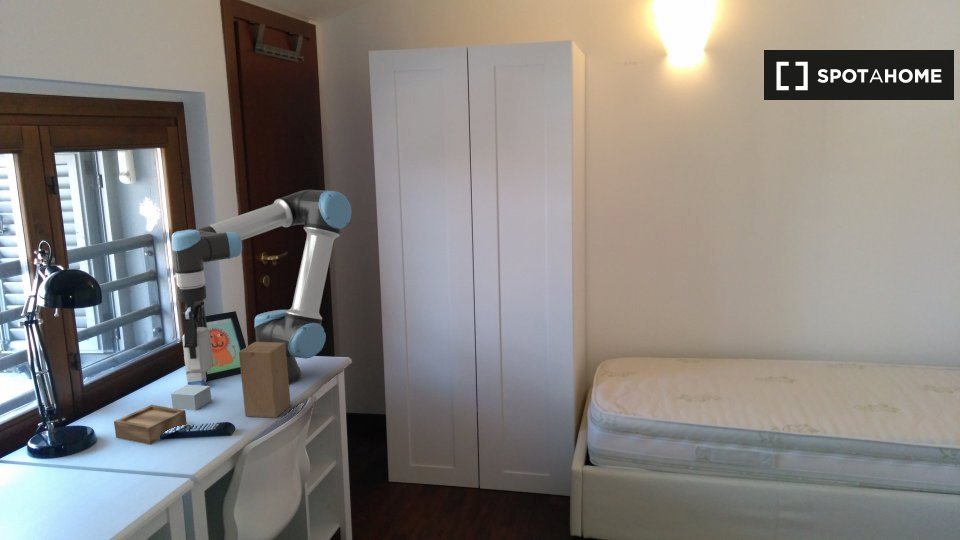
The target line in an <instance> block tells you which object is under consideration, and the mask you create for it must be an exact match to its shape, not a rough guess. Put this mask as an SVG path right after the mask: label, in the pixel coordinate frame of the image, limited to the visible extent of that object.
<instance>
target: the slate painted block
mask: <svg viewBox="0 0 960 540" xmlns="http://www.w3.org/2000/svg"><path fill="white" fill-rule="evenodd" d="M170 395H171V405H172V408H174V409H179V410H183V409H191V410H190V411H197V410H199V409H200V407H201V408H202V407H203V405H204V406H206V405H207V404H209V403H210V402H212V401H213V400H212V392H211V386H210V385H204V386H200V385H188V384H186V385H184V386H183V387H180V388H179V389H177V390H175V391H174V392H172V393H170ZM208 402H209V403H208ZM205 404H206V405H205ZM198 408H199V409H198Z"/></svg>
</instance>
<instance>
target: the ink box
mask: <svg viewBox="0 0 960 540" xmlns="http://www.w3.org/2000/svg"><path fill="white" fill-rule="evenodd" d="M183 358H184V357H183ZM184 361H185V358H184ZM185 374H186V381H187V385H200V386H206V381H207V373H206V372H203V373H190V372H189V371H187V370H186V369H185Z"/></svg>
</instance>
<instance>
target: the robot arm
mask: <svg viewBox="0 0 960 540" xmlns="http://www.w3.org/2000/svg"><path fill="white" fill-rule="evenodd" d="M351 219H352V206H351V203H350V202H349V200H348V198H347V197H346V195H344V194H343V193H342V192H339V191H334V190H323V189H321V190H319V189H318V190H316V189H304V190H300V191H297V192H294V193H291V194H289V195H286V196H283V197H280V198H277V199H275V200H274V202H273V203H272V204H269V205H267V206H263V207H260V208H257V209H254V210H252V211H248V212H246V213H242V214H240V215H236V216H233V217H230V218H227V219H225V220H221V221H218V222H216V223H212V224H209V225H208V226H203V227H201V228H198V229H197V228H196V229H194V228H190V229H186V230H177V231H175V232H174V233H172V235H171V251H172V256H173V257H172V258H173V266H174V272H175V273H174V275H173V279H175V281H176V282H175V283H176V284H175V285H176V286H177V289H176V293H177V300H178V302H179V303H180V302H181V303H184V304H185V307H184V311H182V313H181V315H182V321H183V323H182V325H183V335H184V340H185V346H184V348H188V354H189V363H190V370H194V369H201V364H200V355H199V346H197V327H205V328H207V331H208V325H207V317H206V312H205V302H204V300H206V299H207V287H206V286H205V284H206V278H205V268H204V263H209V262H210V263H211V262H215V261H222V260H231V259H232V258H237V257H239V256H240V255H241V254H242V252H243V240H246V239H250V238H252V237H255V236H258V235H261V234H263V233H267V232H269V231H271V230H274V229H277V228H280V227H283V228H288V227H291V226H297V225H298V226H299V225H303V230H304V231H305V232H306V233H305V234H306V240H305V244H304V249H303V252H302V253H303V254H302V258H301V263H300V266H299V267H300V268H299V271H298V275H297V276H298V277H297V281H296V285H295V286H296V287H295V291H294V296H293V301H292V305H291V307H290V309H277V310H272V311H267V312H265V311H264V312H263V313H260V314H259V313H258V314H257V315H256V316H255V317H254V325H253V326H254V334H255V342H279V343H285V346H286V357H287V369H288V381H289V385H290V384H293V383H295V382H297V381H299V380H300V379H301V378H302V372H301V370H302V369H301V368H300V367H299V364H298V361H297V358H299V359H312V358H313V357H315V356H316V355H317V354H319V353H320V352H321V351H322V349H323V348H324V345H325V342H326V340H327V339H326V338H327V335H326V334H327V333H326V332H325V328H324V326H322V322H323V317H322V316H321V314H320V308H321V304H322V298H323V294H324V293H323V292H324V288H325V284H326V280H327V274H328V270H329V269H328V268H329V265H330V261H331V260H330V259H331V256H332V251H333V250H332V249H333V245H334V241H335V239H337V238H339V237H340V236H341V232H342V231H341V230H342V229H343V228H345V227H346V226H347V225H348V224H349V223H350V221H351ZM208 332H209V331H208ZM190 342H191V343H190Z"/></svg>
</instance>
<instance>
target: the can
mask: <svg viewBox="0 0 960 540" xmlns="http://www.w3.org/2000/svg"><path fill="white" fill-rule="evenodd" d="M207 330H208V327H207V328H205V327H197V346H199V355H200V364H201V369H194V370H190V363H189V354H188V348H184V346H185V340H184V334H183V335H182V337H181V339H182V347H183V355H184V356H183V358H185V360H184V365H185V366H184V367H185V371H186V370H187V371H189V372H190V373H203V372H205V373H206V372H208V371H209V372H210V370H211V369H212V368H213V367H214V357H213V355H214V354H213V347H212V338H211V333H210V332H209V331H207ZM190 343H191V342H190Z"/></svg>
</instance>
